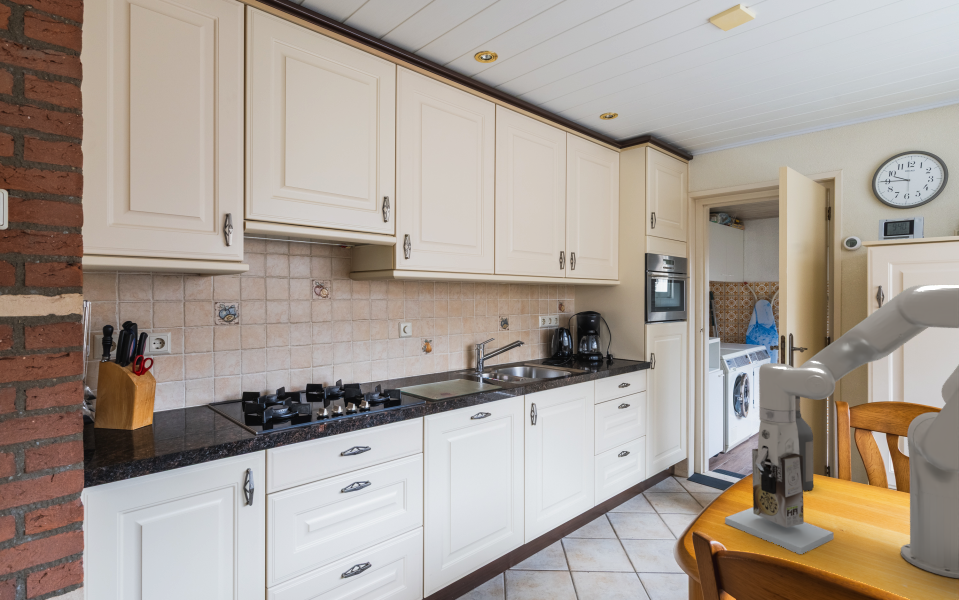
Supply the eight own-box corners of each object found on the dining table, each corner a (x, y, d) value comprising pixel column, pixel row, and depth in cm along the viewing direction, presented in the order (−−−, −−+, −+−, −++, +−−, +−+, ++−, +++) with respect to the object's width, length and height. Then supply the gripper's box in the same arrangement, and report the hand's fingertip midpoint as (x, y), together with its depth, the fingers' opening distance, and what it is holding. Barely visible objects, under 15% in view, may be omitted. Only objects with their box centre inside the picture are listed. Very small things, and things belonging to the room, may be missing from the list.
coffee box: (805, 523, 120) (804, 455, 120) (785, 528, 117) (785, 458, 117) (770, 508, 128) (769, 445, 128) (751, 513, 126) (751, 448, 126)
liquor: (812, 482, 154) (811, 383, 153) (813, 492, 146) (813, 388, 145) (777, 477, 158) (776, 381, 158) (776, 487, 150) (776, 386, 150)
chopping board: (833, 538, 118) (833, 532, 118) (800, 554, 111) (800, 548, 111) (758, 510, 134) (758, 505, 134) (725, 523, 127) (725, 517, 127)
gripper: (772, 423, 115) (772, 502, 115) (813, 413, 124) (813, 486, 124) (740, 416, 121) (741, 491, 121) (781, 408, 130) (782, 477, 130)
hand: (777, 488), depth 123 cm, fingers closed on coffee box, 7 cm apart
